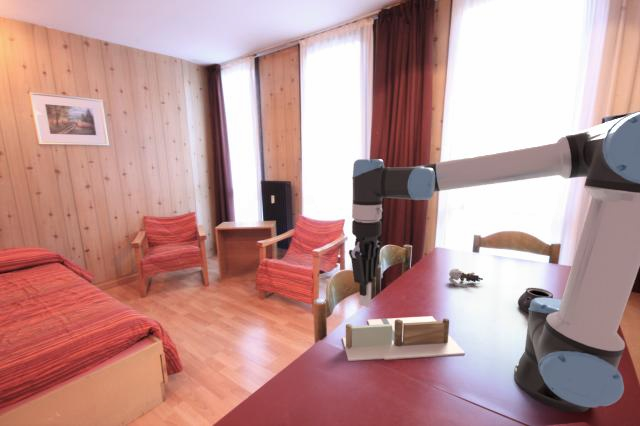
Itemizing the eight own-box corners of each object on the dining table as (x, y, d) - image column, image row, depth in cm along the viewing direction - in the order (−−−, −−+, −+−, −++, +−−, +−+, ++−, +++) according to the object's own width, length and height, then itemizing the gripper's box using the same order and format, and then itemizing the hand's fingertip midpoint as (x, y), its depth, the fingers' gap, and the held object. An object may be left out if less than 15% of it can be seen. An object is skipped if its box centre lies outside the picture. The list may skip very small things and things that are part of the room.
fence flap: (390, 341, 91) (390, 321, 90) (392, 345, 90) (392, 324, 88) (345, 344, 90) (345, 324, 89) (346, 348, 88) (346, 327, 87)
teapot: (506, 310, 111) (509, 285, 109) (526, 300, 119) (529, 276, 117) (568, 334, 95) (572, 306, 94) (586, 321, 103) (590, 294, 102)
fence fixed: (449, 343, 91) (451, 320, 89) (395, 346, 89) (396, 323, 88) (445, 338, 93) (447, 316, 92) (392, 342, 92) (393, 319, 90)
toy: (487, 270, 131) (453, 263, 131) (488, 288, 127) (454, 281, 127) (474, 277, 140) (443, 271, 141) (475, 294, 136) (443, 287, 137)
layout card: (464, 354, 86) (464, 352, 86) (348, 362, 84) (348, 360, 84) (432, 317, 107) (432, 315, 107) (338, 322, 104) (338, 321, 104)
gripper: (366, 226, 68) (364, 319, 73) (391, 217, 78) (388, 300, 82) (340, 221, 73) (339, 309, 77) (367, 214, 83) (365, 292, 87)
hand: (365, 304), depth 80 cm, fingers closed
